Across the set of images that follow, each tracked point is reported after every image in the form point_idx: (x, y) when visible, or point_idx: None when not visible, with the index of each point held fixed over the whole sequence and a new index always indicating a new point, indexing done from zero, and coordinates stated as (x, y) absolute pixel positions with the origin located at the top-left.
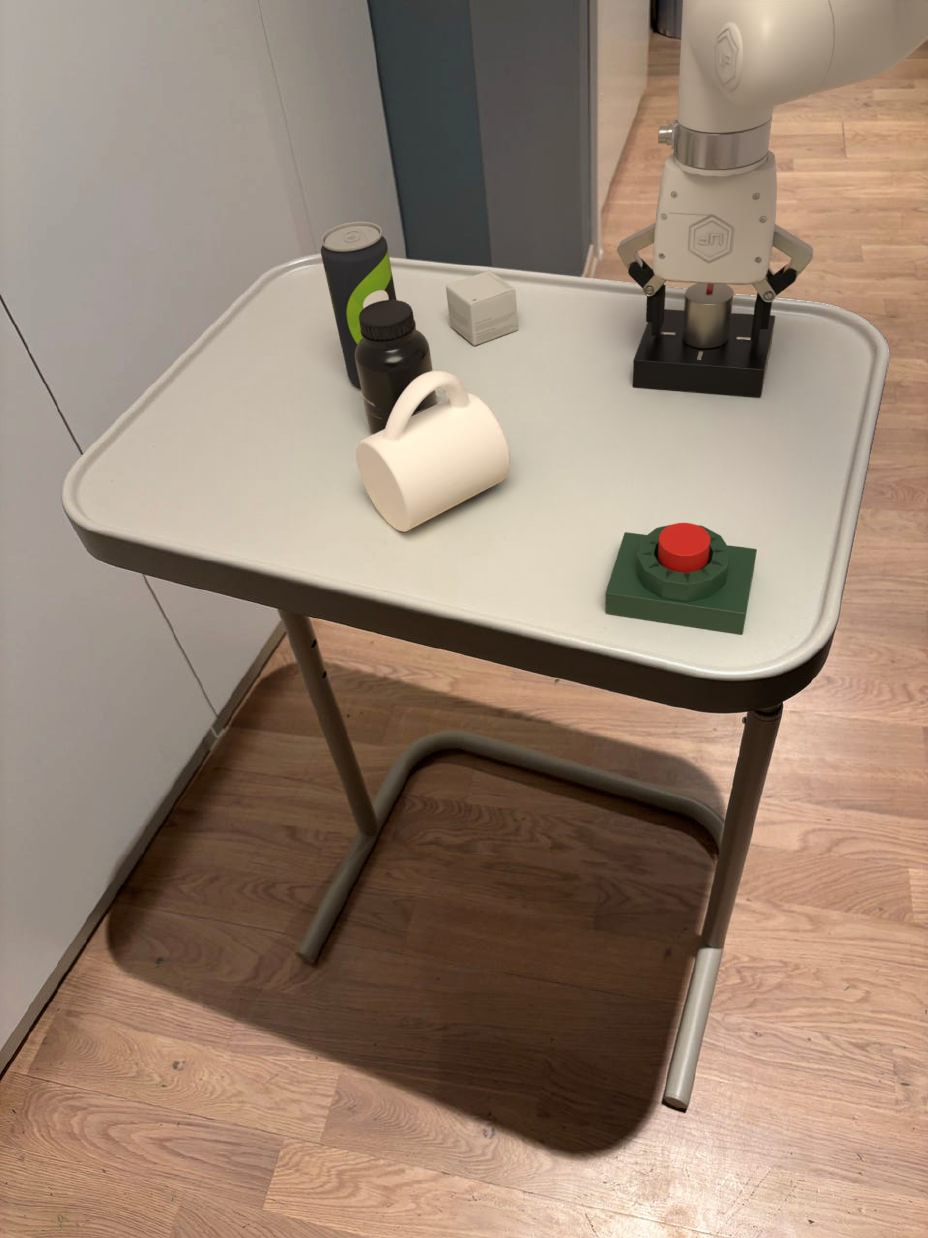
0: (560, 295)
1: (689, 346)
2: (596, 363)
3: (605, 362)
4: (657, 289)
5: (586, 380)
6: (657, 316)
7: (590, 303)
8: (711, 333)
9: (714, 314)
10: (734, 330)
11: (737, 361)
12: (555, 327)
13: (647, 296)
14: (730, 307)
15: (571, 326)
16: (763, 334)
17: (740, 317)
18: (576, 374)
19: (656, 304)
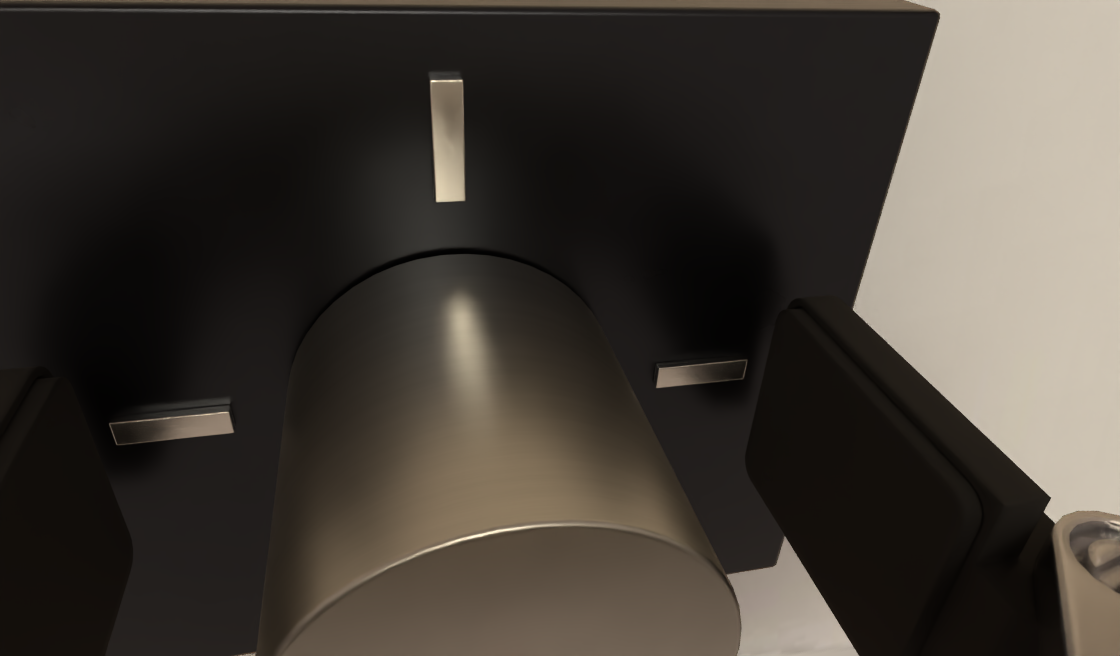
0: None
1: (547, 264)
2: (977, 194)
3: (933, 211)
4: (1068, 585)
5: (1055, 18)
6: (881, 385)
7: None
8: (398, 333)
9: (395, 459)
10: None
11: (97, 112)
12: (1087, 419)
13: (1047, 523)
14: (263, 595)
15: (1027, 439)
16: None
17: None
18: (1091, 72)
19: (969, 454)
